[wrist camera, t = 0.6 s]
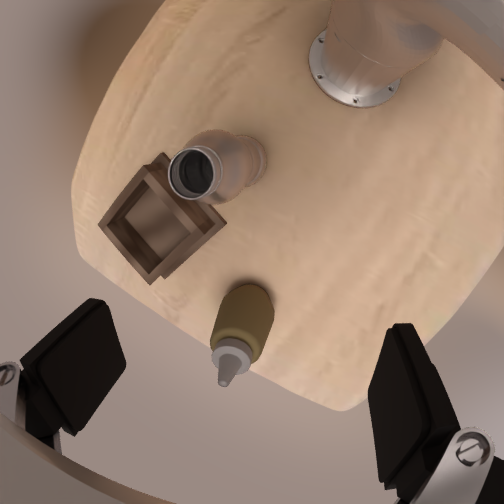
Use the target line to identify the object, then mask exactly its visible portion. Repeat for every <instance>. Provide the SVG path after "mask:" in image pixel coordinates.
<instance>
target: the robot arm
mask: <svg viewBox="0 0 504 504" xmlns="http://www.w3.org/2000/svg"><path fill="white" fill-rule="evenodd" d="M443 38H445V39H447V40H448V41H449V42H451V43H452V44H454V45H456V46H457V47H458V48H459V49H460V50H462V51H463V52H464V53H465V54H466V55H467V56H469V57H470V58H471V59H472V60H473V61H474V62H475V63H476V64H478V65H479V66H480V67H481V68H482V69H483V70H484V71H485V72H486V73H487V74H488V75H489V76H490V77H491V78H492V79H493V80H494V81H495V82H496V83H497V84H498V85H499V86H500V87H501V88H502V89H503V90H504V0H333V2H332V7H331V11H330V16H329V21H328V26H327V29H326V30H324V31H322V32H321V33H320V34H319V35H318V36H317V37H316V38H315V40H314V41H313V43H312V45H311V48H310V52H309V66H310V71H311V73H312V76H313V78H314V80H315V81H316V83H317V85H318V86H319V87H320V88H321V89H322V90H323V92H324V93H326V94H327V95H328V96H329V97H331V98H332V99H334V100H336V101H337V102H339V103H342V104H344V105H347V106H351V107H355V108H369V107H375V106H377V105H380V104H382V103H384V102H386V101H387V100H389V99H390V98H391V97H392V96H393V95H394V94H395V93H396V91H397V89H398V87H399V85H400V81H401V77H402V76H404V75H405V74H407V73H408V72H410V71H411V70H413V69H414V68H416V67H418V66H419V65H421V64H422V63H424V62H425V61H427V60H429V59H430V58H431V57H432V56H434V55H435V53H436V52H437V51H438V50H439V48H440V46H441V44H442V42H443ZM319 41H322V42H323V43H319ZM318 76H321V77H322V79H319V78H318ZM388 88H390V89H391V91H389V89H388ZM353 100H356V102H357V103H354V102H353ZM20 362H21V364H22V366H23V368H24V369H23V370H22V371H21V369H20V367H19V366H18V364H16V363H15V362H5V363H2V364H0V504H176V503H172V502H169V501H166V500H163V499H160V498H156V497H153V496H150V495H148V494H145V493H142V492H139V491H136V490H134V489H132V488H129V487H126V486H124V485H122V484H119V483H117V482H115V481H112V480H110V479H108V478H106V477H104V476H101V475H99V474H97V473H95V472H93V471H91V470H89V469H87V468H85V467H83V466H81V465H80V464H78V463H76V462H74V461H72V460H70V459H69V458H67V457H65V456H63V455H62V451H61V443H60V434H59V429H60V428H61V427H62V429H63V430H64V431H65V432H67V433H69V434H71V435H72V436H74V437H75V436H76V434H77V432H78V431H81V430H82V429H83V428H84V427H85V425H86V424H87V422H88V421H89V420H90V418H91V417H92V415H93V414H94V412H95V411H96V409H97V408H98V407H99V405H100V404H101V402H102V401H103V400H104V398H105V397H106V395H107V394H108V392H109V391H110V390H111V388H112V387H113V385H114V384H115V383H116V381H117V380H118V379H119V377H120V376H121V374H122V373H123V372H124V370H125V368H126V360H125V357H124V354H123V351H122V348H121V345H120V342H119V339H118V336H117V332H116V329H115V326H114V323H113V319H112V316H111V312H110V309H109V306H108V305H107V304H106V302H105V301H103V300H99V299H94V298H89V299H88V300H86V301H85V302H84V303H83V304H82V305H80V306H79V307H78V308H77V309H76V310H74V312H72V313H71V314H70V315H69V316H67V317H66V318H65V319H64V320H63V321H62V322H61V323H59V324H58V325H57V326H56V327H55V328H54V329H53V330H52V331H50V332H49V333H48V334H47V335H46V336H45V337H44V338H43V339H42V340H41V341H39V343H37V344H36V345H35V346H34V347H33V348H32V349H31V350H30V351H29V352H27V353H26V354H25V355H24V356H23V357H22V358H21V359H20ZM368 402H369V408H370V414H371V421H372V428H373V434H374V442H375V450H376V458H377V468H378V477H379V481H380V482H381V483H383V482H384V487H385V490H389V489H395V488H396V489H397V496H398V497H399V498H398V499H397V500H396V502H395V503H394V504H504V460H501V459H500V458H498V457H496V456H494V452H495V447H494V443H493V440H492V438H491V437H490V436H489V434H488V433H487V432H485V431H484V430H482V429H480V428H476V427H467V428H464V429H461V428H460V425H459V422H458V420H457V417H456V414H455V412H454V409H453V407H452V404H451V402H450V399H449V397H448V394H447V392H446V390H445V387H444V385H443V383H442V380H441V378H440V376H439V373H438V372H437V369H436V367H435V366H434V364H432V363H431V361H430V358H429V356H428V354H427V353H426V350H425V348H424V346H423V344H422V342H421V340H420V338H419V336H418V334H417V332H416V330H415V328H414V326H413V324H411V323H395V324H394V325H393V327H392V328H389V329H388V330H387V332H386V335H385V339H384V342H383V346H382V349H381V352H380V355H379V359H378V362H377V365H376V368H375V371H374V374H373V377H372V380H371V383H370V385H369V388H368Z"/></svg>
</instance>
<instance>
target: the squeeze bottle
mask: <svg viewBox="0 0 504 504" xmlns="http://www.w3.org/2000/svg"><path fill="white" fill-rule="evenodd" d="M273 321H274V308H273V306H272V304H271V301H270V299H269V297H268V295H267V293H266V292H265V291H264V290H263V289H262V288H260V287H258V286H256V285H249V284H247V285H243V286H240V287H238V288H236V289H235V290H233V291H231V292H230V293H229V294H227V295H226V296H225V297H224V298H223V300H222V303H221V305H220V308H219V311H218V315H217V318H216V321H215V325H214V328H213V332H212V335H211V338H210V346H211V349H212V351H213V354H212V362H213V363H214V365H215V366H216V367H217V368H218V369H219V372H218V384H219V385H220V386H222V387H227V386H228V385H229V384H230V382H231V381H232V379H233V378H234V376H235V375H237V374H242V373H244V372H246V371H248V369H249V368H250V366H251V364H252V363H254V362H256V361H257V360H258V358H259V357H260V355H261V353H262V351H263V348H264V345H265V343H266V340H267V337H268V335H269V332H270V329H271V327H272V324H273Z"/></svg>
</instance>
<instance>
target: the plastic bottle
mask: <svg viewBox="0 0 504 504" xmlns="http://www.w3.org/2000/svg"><path fill="white" fill-rule="evenodd" d="M266 164H267V159H266V154H265V151H264V149H263V147H262V146H261V144H260V143H259V142H258V141H257V140H255V139H253V138H251V137H249V136H243V135H242V136H234V135H233V134H231V133H229V132H226V131H223V130H207V131H204V132H201V133H200V134H198V135H196V136H195V137H193V138H192V139H191V140H190V141H189V142H188V143H187V144H186V146H185V147H184V148H183V150H181V151H179V152H178V153H177V154H176V155H175V156H174V157H173V158H172V160H171V162H170V164H169V168H168V180H169V184H170V186H171V188H172V190H173V191H174V192H175V193H176V194H177V195H178V196H180V197H181V198H184V199H187V200H197V201H200V202H203V203H205V204H212V205H214V204H222V203H226V202H228V201H230V200H232V199H233V198H235V197H236V196H237V195H238V194H239V193H240V192H241V191H242V190H243V188H244V187H248V186H251V185H253V184H255V183H256V182H257V181H258V180H259V179H260V178H261V177H262V175H263V174H264V171H265V169H266Z"/></svg>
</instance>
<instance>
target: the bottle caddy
mask: <svg viewBox="0 0 504 504" xmlns="http://www.w3.org/2000/svg"><path fill="white" fill-rule="evenodd" d="M170 162H171V160H170V159H169V158H168V157H167V156H166V154H165V153H160V154H159V155H158V156H157V158H156V159H155V160H154V161H153V162H152V163H151V164H149V165H143V166H142V167H141V169H140V170H139V171H138V172H137V173H136V175H135V176H134V177H133V178H132V180H131V181H130V182H129V183H128V185H127V186H126V187H125V188H124V190H123V191H122V192H121V194H120V195H119V196H118V197H117V199H116V200H115V201H114V203H113V204H112V205H111V207H110V208H109V210H108V211H107V212H106V214H105V215H104V216H103V218H102V219H101V221H100V222H99V223H98V226H99V227H100V228H101V230H102V231H103V232H104V233H105V235H106V236H107V237H108V238H109V239H110V241H111V242H112V243H113V244H114V245H115V247H116V248H117V249H118V250H119V251H120V253H121V254H122V255H123V256H124V257H125V258H126V259H127V261H128V262H129V263H130V264H131V265H132V266H133V267H134V269H135V270H136V271H137V272H138V273H139V274H140V275H141V276H142V278H143V279H144V280H145V281H146V282H147V283H148V284H149V285H151V284H152V283H153V282H154V281H155V280H156V279H157V278H158V277H159V276H160V275H161V276H162V277H163V278H164V279H166V278H167V277H168V276H169V275H170V274H171V273H172V272H173V271H175V270H176V269H177V268H178V267H179V266H180V265H181V264H182V263H183V262H184V261H186V260H187V259H188V258H189V257H190V256H191V255H192V254H193V253H194V252H195V251H197V250H198V249H199V248H200V247H201V246H202V245H203V244H204V243H206V242H207V241H208V240H209V239H210V238H211V237H212V236H213V235H215V234H216V233H217V232H218V231H219V230H220V229H221V228H223V227H224V226H225V225H226V224H227V223H226V221H225V220H224V219H223V218H222V217H221V216H220V215H219V214H218V213H217V211H216V210H215V209H214V208H213V207H212V206H211V205H210V204H205V203H203V202H200V201H197V200H187V199H184V198H181V197H180V196H178V195H177V194H176V193H175V192H174V191H173V190H172V188H171V186H170V184H169V180H168V168H169V164H170Z"/></svg>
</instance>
